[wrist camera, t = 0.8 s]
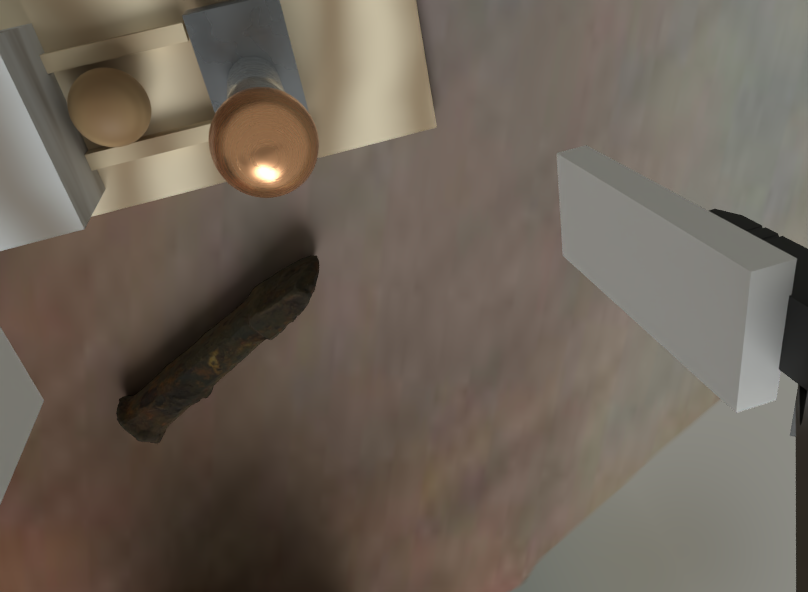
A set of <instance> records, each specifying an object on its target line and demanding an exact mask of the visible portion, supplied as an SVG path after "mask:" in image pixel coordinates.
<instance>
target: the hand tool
mask: <svg viewBox="0 0 808 592" xmlns="http://www.w3.org/2000/svg"><path fill="white" fill-rule="evenodd" d="M318 273H319V260H318V258H317V256H314V255H313V256H309V257H306V258H304V259H301V260H299V261H297V262H296V263H294V264H292V265H290V266H288V267H286V268H284V269H282V270H281V271H279V272H277V273H276V274H275V275H274V276H272V277H271V278H269V279H267V280H266V281H264V282H263V283H261V284H259V285H258V286H256V287H255V288H254V289H253V290H252V292H251V294H250V296H249V297H248V298H247V300H246V301H245V302H244V303H242V304H241V305H240V306H239V307H238V308H237V309H235V310H234V311H233V312H232V313H231V314H229V315H228V316H227V317H225V318H224V319H223V320H222V321H221V322H219V323H218V324H217V325H216V326H215V327H214V328H212V329H210V330H209V331H208V332H207V333H205V334H204V335H203V336H202V337H201V338H200V339H199V340H198V341H197V342H196V343H195V344H194V345H193V346H191V347H190V348H189V349H188V350H187V351H186V352H184V353H183V354H181V355H180V356H179V357H178V358H177V359H175V360H174V361H173V362H172V363H170V364H169V365H167V366H166V367H165V368H164V370H163V371H162V372H161V373H160V374H158V375H157V376H156V377H155V379H153V380H152V381H151V382H150V383H149V384H148V385H147V386H146V387H145V388H143V389H142V390H141V391H140V392H138V393H137V394H136V395H134V396H125V397H122V398H120V399H119V401H120V402H119V404H118V407H117V413H116V414H117V420H118V422H119V424H120V425H121V426H122V427H123V429H125V430H126V431H127V432H128V433H130V434H131V435H132V436H134V437H135V438H136V439H137V440H138V441H141V442H151V443H159V442H160V441H161V439H162V437H163V435H164V433H165V431H166V428H167V427H168V426H169V425H170V424H171V423H172V422H173V421H174V420H175V419H176V418H177V417H178V416H180V415H181V414H182V413H183V412H184V411H185V410H186V409H187V408H188V407H190V406H191V405H193V404H195V403H197V402H199V401H200V400H201V399H202V398H207V397H208V396H209V395H210V394H211V392H212V389H213V386H214V385H215V384H216V383H217V382H218V381H219V380H220V379H221V378H222V377H224V376H225V375H226V374H227V373H228V372H229V371H231V370H232V369H233V368H234V367H235V366H236V365H237V364H238V363H239V362H241V361H242V360H243V359H244V358H245V357H246V356H247V355H248V354H249V353H250V352H252V351H253V350H254V349H255V348H256V347H257V346H258V345H259V344H260V343H261V342H263V341H264V340H265V339H269V340H272V339H273V338H275V337H276V336H277V335H278V334H279V333H281V332H282V331H283V330H284V329H285V327H286V326H287V325H288V324H289V323H291V322H294V320H295V319H296V317H297V316H298V315H300V314H301V312H302V311H303V310H304V309H305V307H306V306H307V305H308V303H309V300H310V298H311V296H312V294H313V292H314V290H315V286H316V281H317V278H318Z"/></svg>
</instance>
